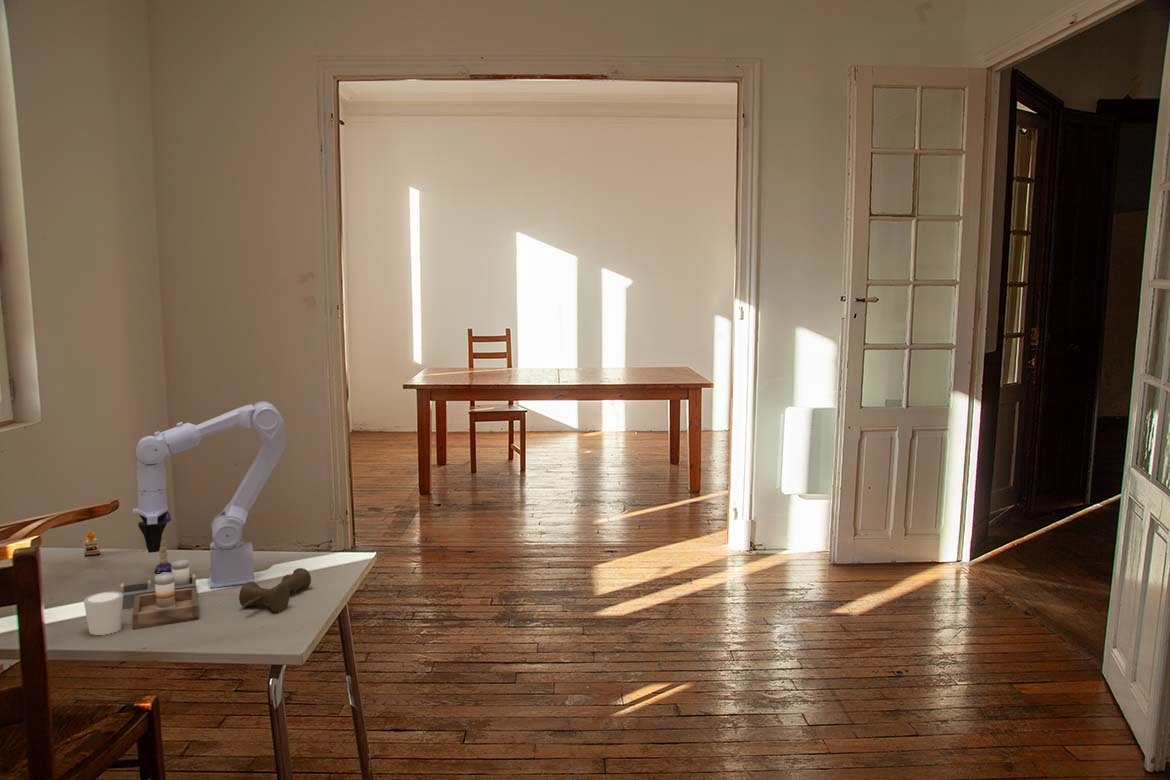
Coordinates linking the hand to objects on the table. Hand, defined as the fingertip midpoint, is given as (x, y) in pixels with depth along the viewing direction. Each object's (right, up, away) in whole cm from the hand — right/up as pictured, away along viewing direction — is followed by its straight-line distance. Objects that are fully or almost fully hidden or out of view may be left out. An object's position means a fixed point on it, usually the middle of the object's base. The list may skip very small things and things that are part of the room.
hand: (154, 547), depth 184 cm
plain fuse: (+7, -11, -1) cm, 13 cm away
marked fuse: (+9, -11, -12) cm, 19 cm away
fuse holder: (+3, -11, -3) cm, 12 cm away
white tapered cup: (+1, -13, -20) cm, 24 cm away
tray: (+9, -12, -12) cm, 19 cm away
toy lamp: (-5, -9, +14) cm, 18 cm away
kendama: (+30, -12, -4) cm, 32 cm away
